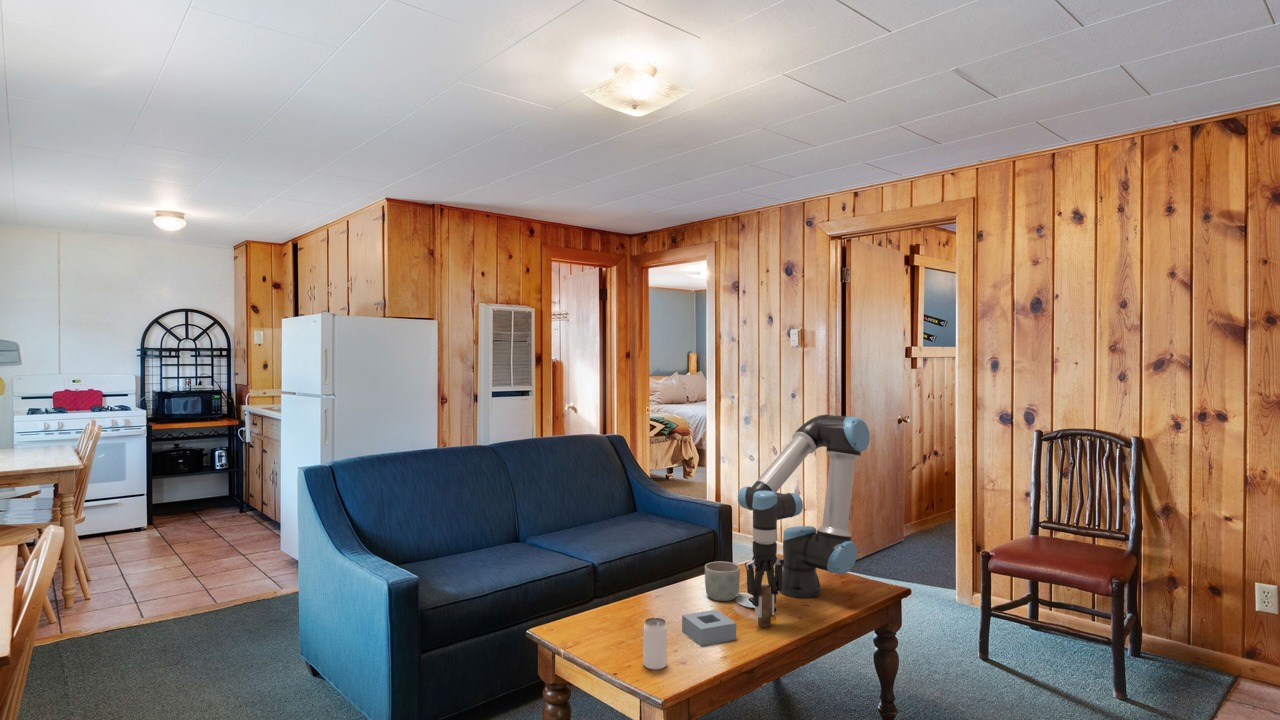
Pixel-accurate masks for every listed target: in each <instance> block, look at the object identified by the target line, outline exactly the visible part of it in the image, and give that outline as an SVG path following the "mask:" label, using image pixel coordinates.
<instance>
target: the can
mask: <svg viewBox="0 0 1280 720" xmlns="http://www.w3.org/2000/svg"><path fill="white" fill-rule="evenodd" d="M644 622H645V623H644V625H643V630H642V631H643V632H642V633H643V634H642V635H643V636H642V637H643V639H642V640H643V641H642V642H643V644H642V646H643V647H642V648H643V651H642V652H643V653H642V654H643V657H642V658H643V659H642V661H643V662H642V663H643V666H644V667H645V668H646V669H648V670H652V671H658V670H663V669H665V667H666V666H667V665H668V664H667V663H668V661H667V660H668V626H667V624H666V620H665V619H664V618H661V617H649V618H647V619H645V620H644Z"/></svg>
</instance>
